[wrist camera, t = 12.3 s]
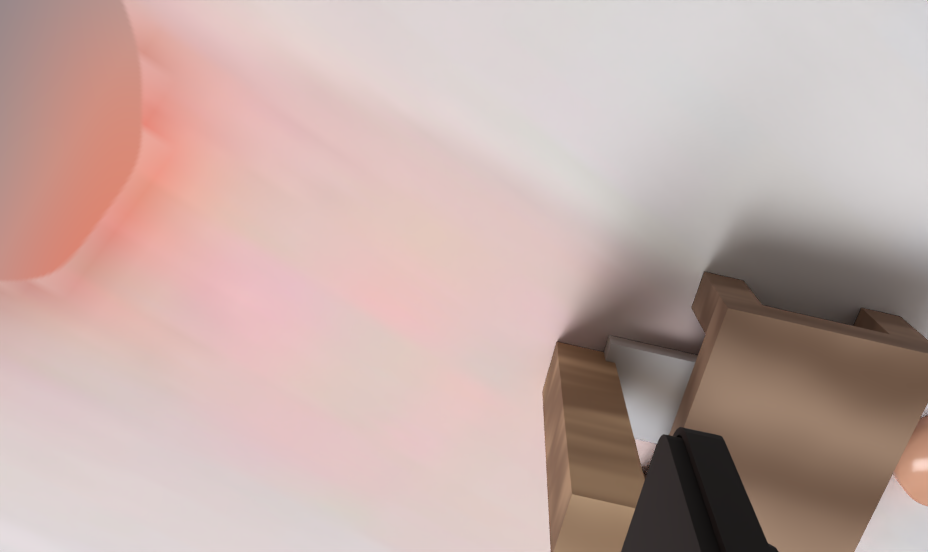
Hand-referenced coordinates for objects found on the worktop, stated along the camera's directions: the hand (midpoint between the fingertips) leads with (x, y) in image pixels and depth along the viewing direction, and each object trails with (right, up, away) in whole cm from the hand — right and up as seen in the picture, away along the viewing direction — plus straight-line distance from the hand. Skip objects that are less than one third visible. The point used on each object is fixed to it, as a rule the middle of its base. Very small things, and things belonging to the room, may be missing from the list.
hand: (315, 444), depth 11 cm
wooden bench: (+17, -5, +30) cm, 35 cm away
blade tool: (+16, -5, +30) cm, 34 cm away
